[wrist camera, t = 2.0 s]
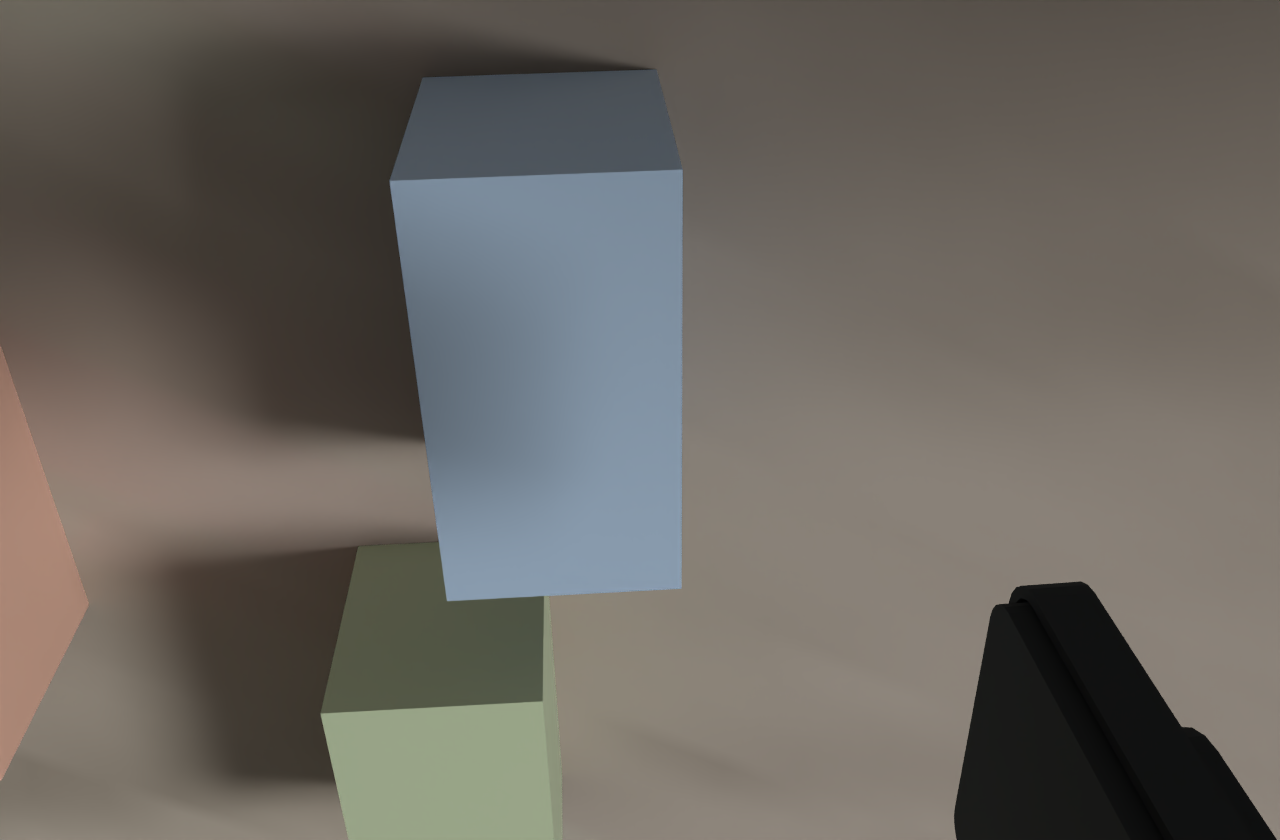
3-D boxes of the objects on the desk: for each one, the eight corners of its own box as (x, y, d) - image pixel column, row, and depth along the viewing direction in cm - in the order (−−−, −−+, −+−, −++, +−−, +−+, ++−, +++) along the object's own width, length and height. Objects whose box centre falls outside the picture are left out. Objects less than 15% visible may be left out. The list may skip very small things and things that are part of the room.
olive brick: (545, 533, 21) (543, 701, 17) (561, 769, 24) (562, 950, 20) (359, 542, 20) (320, 713, 17) (401, 779, 24) (376, 963, 20)
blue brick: (655, 66, 16) (682, 169, 13) (659, 430, 20) (681, 588, 16) (423, 74, 16) (388, 179, 13) (464, 440, 19) (447, 600, 16)
